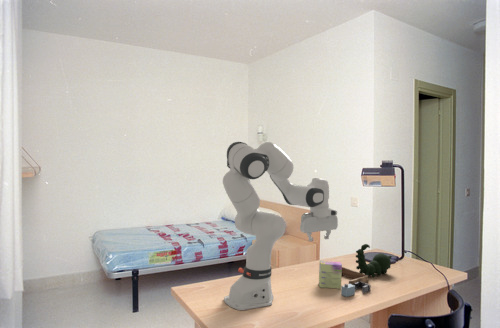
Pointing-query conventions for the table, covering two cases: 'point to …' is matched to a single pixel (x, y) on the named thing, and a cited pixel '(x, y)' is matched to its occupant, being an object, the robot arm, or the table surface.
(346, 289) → the blue block with knob
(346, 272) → the wooden square frame
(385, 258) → the toy figurine
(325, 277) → the box
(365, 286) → the bracket
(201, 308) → the table surface
